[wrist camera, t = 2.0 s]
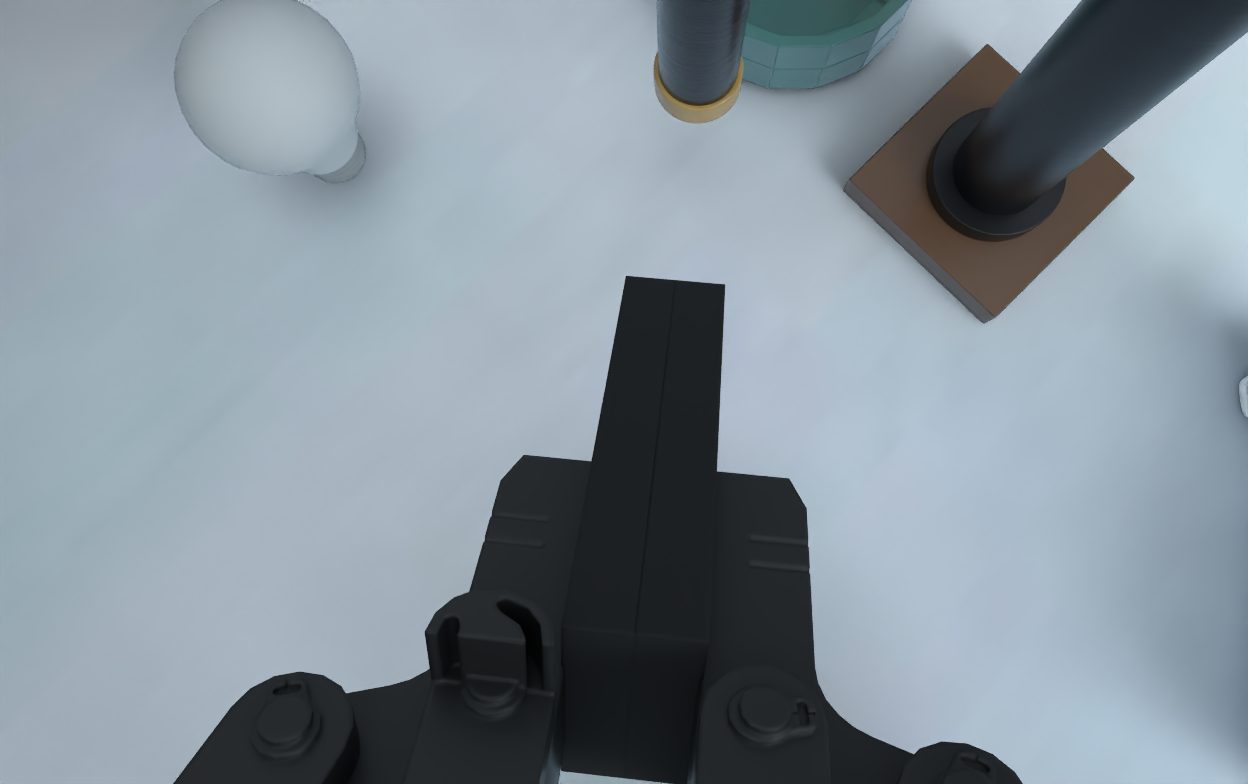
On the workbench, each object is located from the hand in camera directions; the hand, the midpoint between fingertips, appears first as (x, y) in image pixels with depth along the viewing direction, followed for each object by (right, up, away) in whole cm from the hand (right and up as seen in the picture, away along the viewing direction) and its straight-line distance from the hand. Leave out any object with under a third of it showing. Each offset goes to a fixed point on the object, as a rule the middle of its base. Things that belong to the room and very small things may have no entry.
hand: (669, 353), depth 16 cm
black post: (+14, +8, +26) cm, 31 cm away
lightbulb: (-13, +9, +27) cm, 32 cm away
